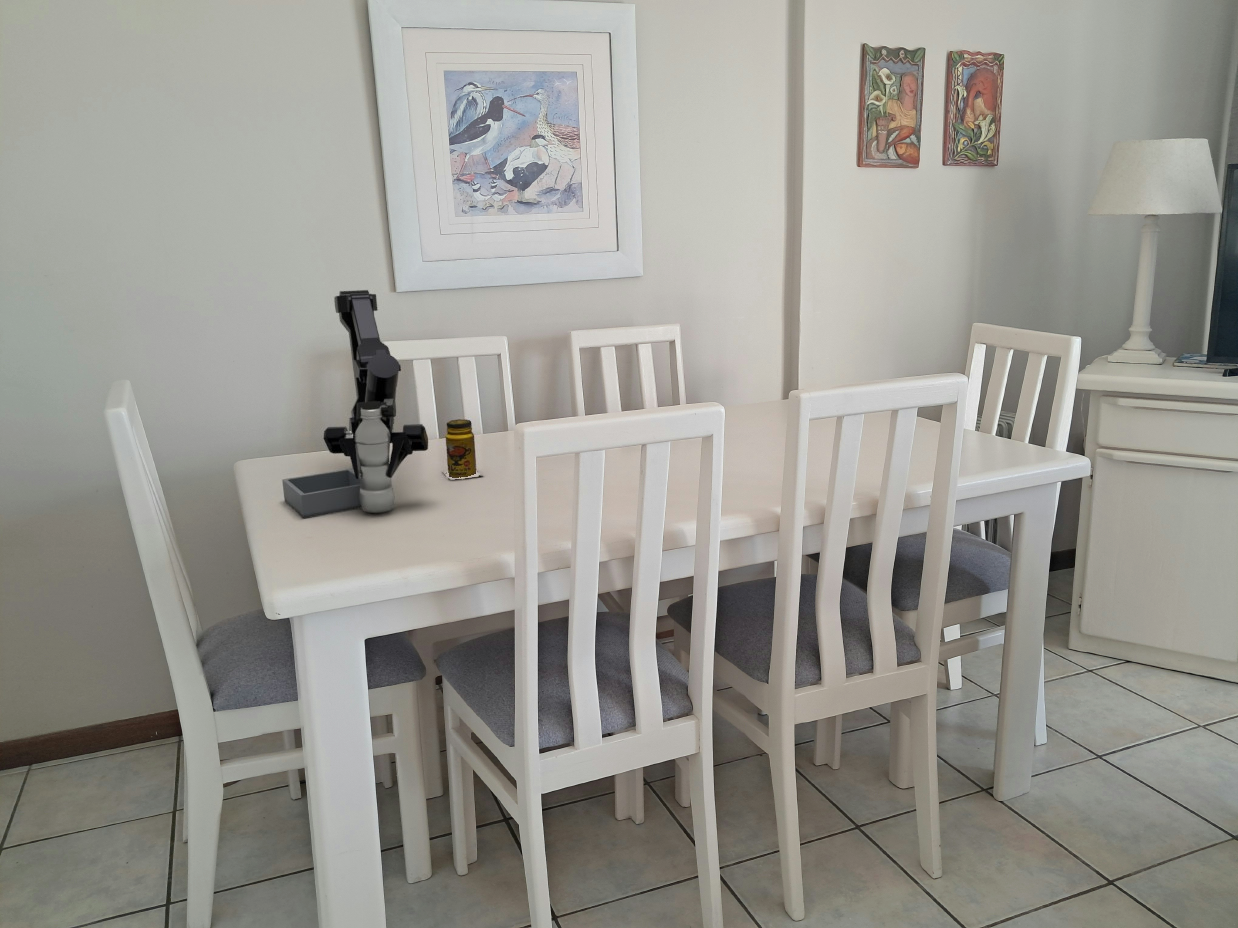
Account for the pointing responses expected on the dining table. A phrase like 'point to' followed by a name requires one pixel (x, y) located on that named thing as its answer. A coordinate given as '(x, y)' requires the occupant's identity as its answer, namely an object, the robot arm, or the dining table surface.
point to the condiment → (460, 449)
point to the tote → (323, 493)
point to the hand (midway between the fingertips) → (373, 477)
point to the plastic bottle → (374, 463)
